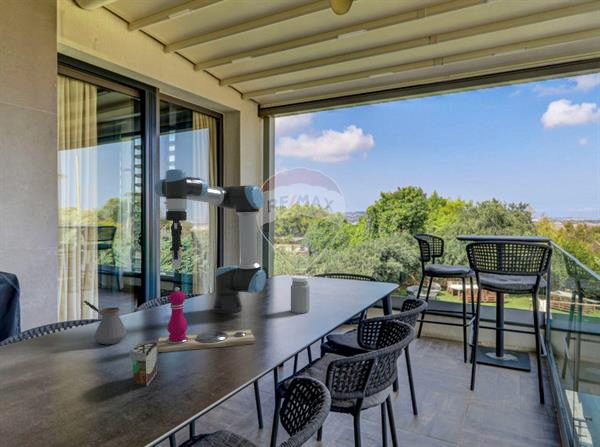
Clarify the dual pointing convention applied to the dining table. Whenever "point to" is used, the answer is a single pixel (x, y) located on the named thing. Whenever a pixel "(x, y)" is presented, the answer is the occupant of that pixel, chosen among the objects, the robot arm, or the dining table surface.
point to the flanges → (216, 336)
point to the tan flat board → (194, 344)
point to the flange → (176, 342)
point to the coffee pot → (109, 326)
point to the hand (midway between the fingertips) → (176, 266)
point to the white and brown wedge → (144, 362)
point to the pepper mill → (177, 317)
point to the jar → (300, 294)
